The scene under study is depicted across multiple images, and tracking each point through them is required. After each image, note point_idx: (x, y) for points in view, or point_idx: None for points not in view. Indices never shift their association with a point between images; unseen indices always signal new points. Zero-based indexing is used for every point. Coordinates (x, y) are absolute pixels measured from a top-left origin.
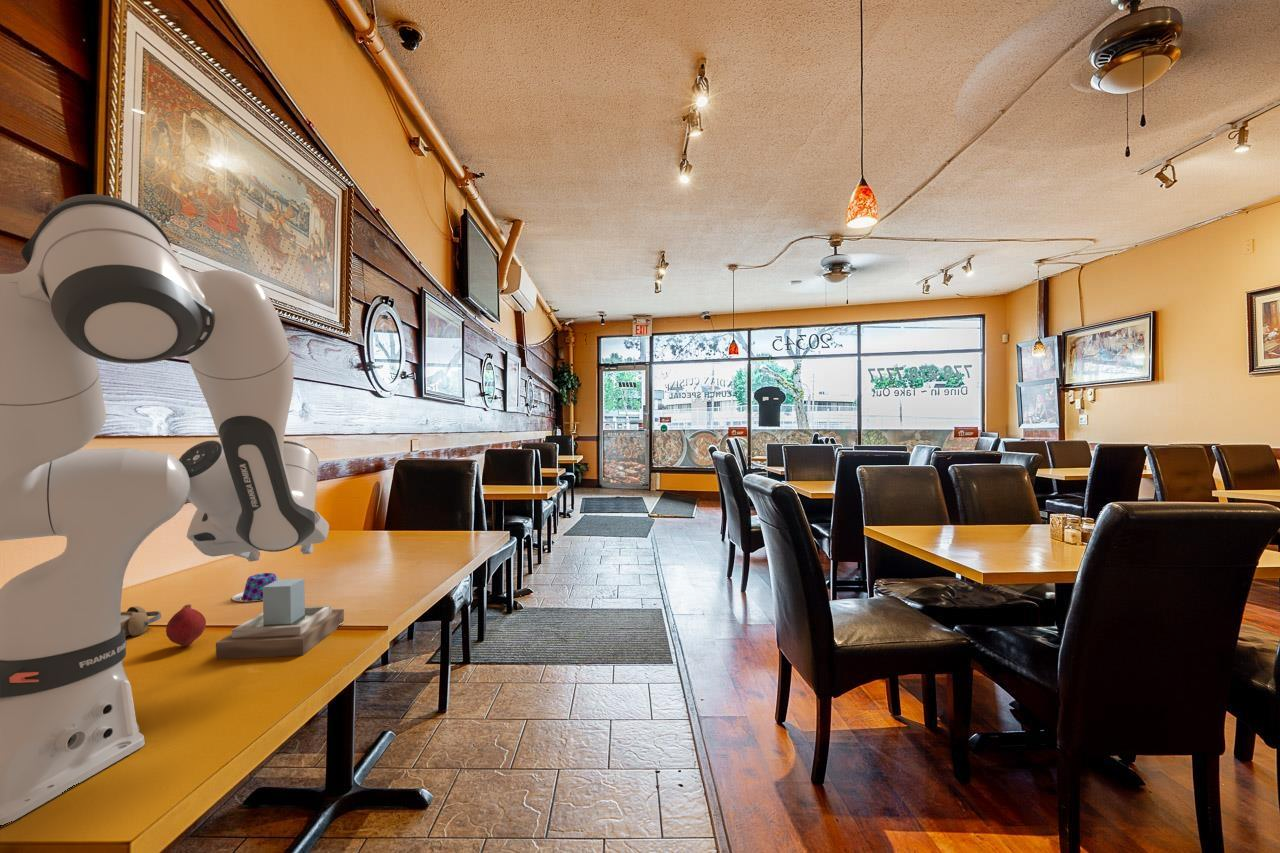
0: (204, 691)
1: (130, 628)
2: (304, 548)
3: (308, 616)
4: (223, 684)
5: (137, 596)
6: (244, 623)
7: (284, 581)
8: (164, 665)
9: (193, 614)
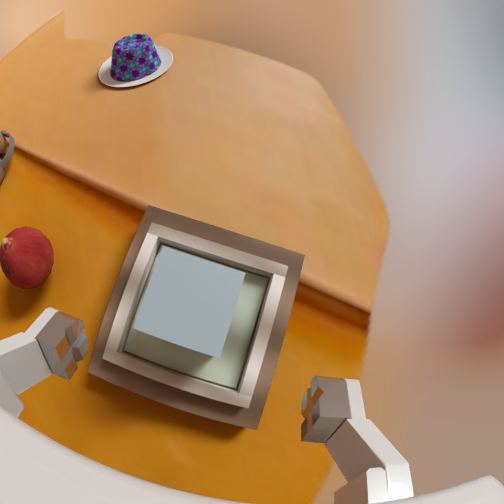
0: None
1: None
2: (324, 439)
3: None
4: None
5: (26, 55)
6: (116, 322)
7: (186, 281)
8: None
9: (22, 262)
